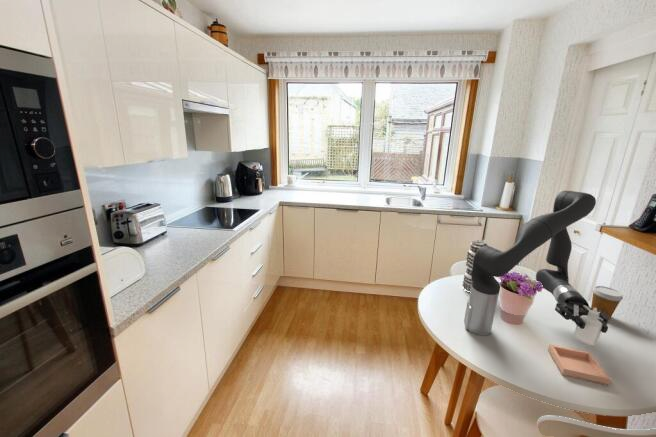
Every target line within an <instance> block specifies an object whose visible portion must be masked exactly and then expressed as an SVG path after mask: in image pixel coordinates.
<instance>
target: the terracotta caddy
mask: <svg viewBox="0 0 656 437" xmlns="http://www.w3.org/2000/svg"><path fill="white" fill-rule="evenodd" d="M547 352H548V354H549V355H550V356H551V358H552V360H553V362H554V364H555V366H556V367H557V369H558V371H559V372H560V374H561V376H565V377H569V378H573V379H577V380H582V381H586V382H591V383H594V384H600V385H603V386H609V384H610V382H611V378H610V376H609V375H608V373H606V371H605V370H604V368H603V367H602V366H601V365H600V363H599V361H598V360H596V357H594V355H593V354H592V353H591V352H589V351H585V350H580V349H575V348H570V347H564V346H560V345H555V344H549V343H548V347H547Z"/></svg>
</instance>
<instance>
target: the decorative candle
mask: <svg viewBox="0 0 656 437" xmlns="http://www.w3.org/2000/svg"><path fill="white" fill-rule="evenodd" d="M482 246H489V245H488V243H487V242H486V241H483V240H473V241H472V242H470V247H469V250H468V251H467V254H466V262H465V263H466V264H465V267H466V269H465V272H464V275H463V276H464V277H463V281H462V286H461V287H464V289H466V290H467V291H470V292H471V288H472V278H471V276H472V268H473V260H474V256H475V254H476V252H477V250H478V249H479V248H480V247H482Z"/></svg>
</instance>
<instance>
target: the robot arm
mask: <svg viewBox="0 0 656 437" xmlns="http://www.w3.org/2000/svg"><path fill="white" fill-rule="evenodd" d="M596 203H597V199H596V197H595V196H594V195H592V194H590V193H587V192H580V191H574V190H573V191H572V190H562V191H560V192H558V194H557V195H556V197H555V199H554V202H553V207H552V208H553V209H552V212H550V213H549V212H548V213H544V214H541V215H538V216H536V217H533V218H531V219H529V220H528V221H526V222H525V223H524V224H522V225H521V226H520V227H519V228H518V230H517V231H516V236H515V240H514V244H513V245H512V246H511V247H509V248H507V250H505V251H501V250H499V249H497V248H494V247H492V246H490V245H488V246H482V247H480V248H479V249H478V250H477V252H476V254H475V256H474V260H473V268H472V276H471V278H472V288H471V293H469V300H467V302H466V309H465V312H464V318H463V319H464V320H463V322H464V323H463V324H464V328H465V330H466V331H470V332H471V333H472V334H476V335H479V336H488V335H490V334H491V332H492V328H493V324H494V318H495V314H496V310H497V309H496V308H497V304H498V301H499V297H500V291H501V284H500V283H499V281H498V279H496V278H501V277H503V276H505V275H506V274H508V273H509V272H511V270H513V269H514V267H516V266H517V265H518V264H519V263H520V262H521V261H522V260H524V258H526V257H527V256H529V254H531V253H532V252H534V251H535V250H537V248H539V247H541V246H542V245H544V244H545V243H546V242H548V241H549V240H550V242H549V246H548V250H547V254H546V258H545V261H546V263H547V264H549V265H552V266H554V267H556V269H557V270H554V269H548V268H542V269H538V271H536V274H535V280H536V282H537V281H540V282H541V283H542V285H543V287H542V288H543V289H544V290H546V291H547V292H549V293H551V295H552V296H553V297H554V299H555V301H556V304H555V308H554V311H556V312H557V313H558V314H559V315H560V316H561V317H562V318H564V319H565V320H568V321H569V320H571V321H572V322H573V323H575V325H576V326H579V327H580V328H581V329H584V328H585V322H584V321H583V320H582V318H581V317H580V316H582V315H586V316H587V315H588V312H589V310H593V309H592V308H591V306H590V304H589V302H588V300H587V299H586V298H585V297H583V295H582V294H581V293H580V292H579V291H578V290H577V289H576V288H574V287H573V286H572V285H571V283H569V280H570V279H569V269H568V268H569V267H568V266H569V260H570V257H571V253H572V246H573V244H572V240H571V238H570V234H569V231H568V229H567V228H568V227H569V226H571V225H572V224H574V223H576V222H578V221H580V220H582V219H584V218H585V217H587V216H588V215H590V214H591V212H592V211H593V210H594V208H595V207H596ZM598 313H599V316H598V319H597V320H599V321H600V322H601V323H602V325H603V326H602V330H601V333H602V334H603V333H604V334H607V332H608V329H609V326H608V323H609V321H610V320H609V319H608V317H607V315H606V313H605V312H604V311H602V310H600V312H598Z"/></svg>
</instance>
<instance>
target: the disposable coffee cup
mask: <svg viewBox="0 0 656 437" xmlns="http://www.w3.org/2000/svg"><path fill="white" fill-rule="evenodd" d="M623 299H624V297H623V293H622V292H621V291H619V290H617V289H614V288H612V287H609V286H604V285H595V286H594V288H592V298H591V306H590V308H592V309H594V308H597V312H600V310H602V311H604V312H605V313H606V315H607V317H608V319H609V321H611V318H612V316H613V314H614V313H615V311H616V309H617V308H618V306H619V304H620V302H621V301H622V300H623Z"/></svg>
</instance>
